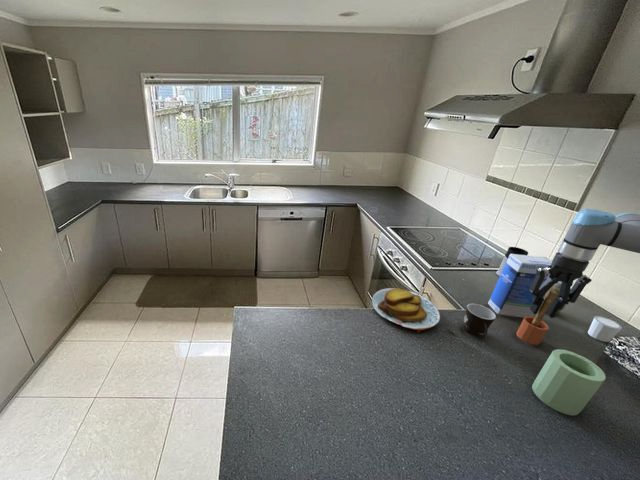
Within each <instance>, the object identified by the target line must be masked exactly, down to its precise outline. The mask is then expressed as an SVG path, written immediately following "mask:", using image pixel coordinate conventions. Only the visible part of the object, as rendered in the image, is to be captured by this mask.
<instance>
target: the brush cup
mask: <svg viewBox="0 0 640 480" xmlns="http://www.w3.org/2000/svg"><path fill="white" fill-rule="evenodd" d="M534 318H535V317H528V316H527V317H524V318H523V319H522V321H521V323H520V325H519V327H518V329H517V331H516V333H515V334H516V336H517V337H518V339H520V340H521V341H523V342H525V343H527V344H529V345H532V346H533V345H534V346H539V345H540V344H541V343H542V341H543V339H544V337H545V335H546V334H547V332H548V331H549V329H550V327H549V326H548V324H547V323H546V322H545V321H543V320H541V322H540V324H539V326H538V327H535V326H533V325H531V323H532V322H533V320H534Z"/></svg>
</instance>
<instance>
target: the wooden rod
mask: <svg viewBox="0 0 640 480" xmlns="http://www.w3.org/2000/svg"><path fill="white" fill-rule="evenodd" d="M556 293H557V292H556V291H553V290H549V292H548V294H547V296H546V298H545V300H544V301H543V303H542V305H541V307H540V308H539V310H538V312H537V314H535V315H534V317H533V318H534V320H533V322H532V323H531V325H533V326H535V327H538V326H539V324H540V322H541V321H543V319H544V317H545V315H546V314H547V312H546V311H547V309H548V308H549V306H550V304H551V302H552V301H553V299H554V297H555V295H556Z"/></svg>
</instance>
